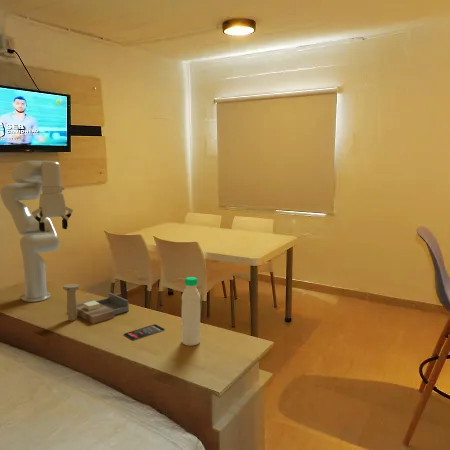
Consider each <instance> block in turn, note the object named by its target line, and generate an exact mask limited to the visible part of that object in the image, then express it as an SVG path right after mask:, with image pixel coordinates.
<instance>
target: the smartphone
mask: <svg viewBox="0 0 450 450" xmlns="http://www.w3.org/2000/svg"><path fill="white" fill-rule="evenodd" d="M161 332H165V328H163V327H162V326H161V325H157V324H155V323H154V324H151V325H148V326H144V327H141V328H138V329H134V330H132V331H128V332H126V333H123V337H126V338H127V339H129V340H130V341H132V342H133V341H137V340H139V339H143V338H145V337H149V336H151V335H155V334H158V333H161Z"/></svg>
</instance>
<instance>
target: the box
mask: <svg viewBox="0 0 450 450" xmlns="http://www.w3.org/2000/svg"><path fill="white" fill-rule="evenodd" d="M95 301H96V302H98V303H100V304H101V305H103V306H105V307H107V308H109V309H111V310H113V311H114V317H115V316H117V315H121V314H124V313H128V312H129V300H128V299H126V298H123V297H121V296H118V295H116V294H115V293H112V292H108V297H106V298H102V299H99V300H95Z"/></svg>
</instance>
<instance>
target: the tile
mask: <svg viewBox="0 0 450 450" xmlns="http://www.w3.org/2000/svg"><path fill="white" fill-rule="evenodd" d="M96 301H97V300H93V301H91V302H87V303H84V308H85V309H87V310H89V311H90V310H94V309H98V308H100V303H98V302H96Z"/></svg>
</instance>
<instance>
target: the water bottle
mask: <svg viewBox="0 0 450 450" xmlns="http://www.w3.org/2000/svg"><path fill="white" fill-rule="evenodd" d="M184 286H185V287H184V290H183V292H182V294H181V343H182V344H183V345H185V346H191V347H192V346H193V347H194V346H196V345H198V344H199V343H200V342H201V294H200V292H199V290H198V288H197V286H198V278H197V277H193V276H188V277H186V278H184Z"/></svg>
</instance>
